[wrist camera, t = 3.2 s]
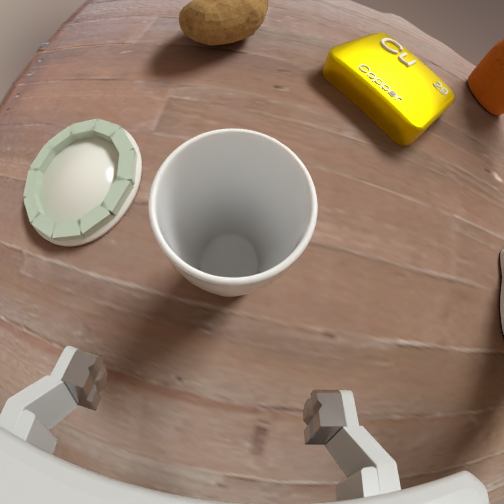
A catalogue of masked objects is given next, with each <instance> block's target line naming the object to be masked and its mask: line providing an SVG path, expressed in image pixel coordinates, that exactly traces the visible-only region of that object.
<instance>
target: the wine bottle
mask: <svg viewBox="0 0 504 504" xmlns="http://www.w3.org/2000/svg"><path fill="white" fill-rule="evenodd" d="M468 85H469V88H470V90H471V92H472V93H473V95H474V96H475V98H476V99H477V100H478V102H479V103H480V104H481V105H482V106H483V107H484V108H485V109H486V110H487V111H489V112H490V113H492V114H494V115H501V114H503V113H504V39H503V40H501V41H500V42H498V43H497V44H496V45H495V46H494V47H493V48H492V49H491V50H490V51H489V52H488V53H487V55H486V56H485V57H484V58H483V60H482V61H481V62H480V63H479V64H478V66H477V67H476V68H475V69H474V71H473V72H472V73H471V74H470V76H469V78H468Z"/></svg>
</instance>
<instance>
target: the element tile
mask: <svg viewBox="0 0 504 504" xmlns="http://www.w3.org/2000/svg"><path fill="white" fill-rule="evenodd" d="M322 74H323V76H324V78H325V79H326V80H327V81H329V82H330V83H331V84H332V85H333V86H335V87H336V88H337V89H338V90H339V91H341V92H342V93H343V94H344V95H345V96H346V97H348V98H349V99H350V100H351V101H352V102H353V103H354V104H355V105H357V106H358V107H359V108H360V109H361V110H362V111H363V112H364V113H365V114H366V115H367V116H368V117H370V118H371V119H372V120H373V121H374V122H375V123H376V124H377V125H378V126H379V127H380V128H381V129H382V130H383V131H384V132H385V133H386V134H387V135H388V136H389V137H390V138H391V139H392V140H393V141H394V142H396V143H398V144H399V145H402V146H409V145H411V144H412V143H413V142H414V141H415V140H416V139H417V138H418V137H419V136H420V135H421V134H422V133H423V132H424V131H425V130H427V129H428V128H429V127H430V126H431V125H432V124H433V123H434V122H435V121H436V120H437V119H438V118H439V117H440V116H441V115H442V114H443V113H444V112H445V111H446V110H447V109H448V108H449V107H450V105H451V104H452V103H453V102H454V100H455V97H454V93H453V92H452V91H451V89H450V88H449V87H448V86H447V85H446V84H445V83H444V82H443V81H442V80H441V79H440V78H439V77H438V76H437V75H436V74H434V73H433V72H432V71H431V70H430V69H429V68H428V67H427V66H426V65H425V64H423V63H422V62H421V61H420V60H419V59H418V58H417V57H415V56H414V55H413V54H412V53H411V52H409V51H408V50H407V49H406V48H405V47H403V46H402V45H401V44H399V43H398V42H397V41H396V40H394V39H393V38H392V37H390V36H389V35H387V34H385V33H374V34H370V35H367V36H364V37H361V38H358V39H355V40H352V41H349V42H346V43H343V44H340V45H337V46H335V47H333V48H331V49H330V51H329V53H328V55H327V58H326V61H325V63H324V66H323V69H322Z"/></svg>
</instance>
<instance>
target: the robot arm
mask: <svg viewBox="0 0 504 504" xmlns="http://www.w3.org/2000/svg"><path fill="white" fill-rule="evenodd" d="M500 262H501V270H502V285H501V296H500V312H501V323H502V329H503V333H504V249H503V250H502V251H501V253H500ZM102 363H103V359H102V356H100V355H96V354H93V353H90V352H86V351H83V350H80V349H77V348H74V347H71V346H67V347H66V348H65V349H64V351H63V352H62V354H61V356H60V358H59V360H58V362H57V363H56V365H55V367H54V369H53V371H52V373H51V375H50V376H48V375H46V376H45V377H43V378H41V379H40V380H38V381H37V382H35V383H33V384H32V385H30V386H28V387H27V388H25V389H23V390H22V391H20V392H19V393H17V394H15V395H14V396H12V397H10V398H9V399H8V400H7V402H6V404H5V406H4V408H3V410H2V413H1V415H0V504H249V503H234V502H223V501H214V500H206V499H199V498H193V497H187V496H181V495H176V494H171V493H166V492H161V491H157V490H153V489H148V488H144V487H141V486H137V485H133V484H130V483H126V482H123V481H120V480H116V479H113V478H110V477H107V476H104V475H101V474H99V473H96V472H93V471H90V470H88V469H85V468H83V467H80V466H78V465H75V464H73V463H70V462H68V461H66V460H63V459H61V458H59V457H57V456H55V455H53V453H54V450H55V447H56V444H57V439H56V437H55V436H54V435H53V434H52V433H51V432H50V431H49V430H50V429H51V428H52V427H53V426H54V425H56V424H57V423H58V422H59V421H60V420H62V419H63V418H64V417H65V416H67V415H68V414H69V413H70V412H71V411H73V410H74V409H75V408H76V407H77V406H78V405H80V406H83V407H86V408H89V409H92V410H95V411H96V409H97V406H98V404H99V401H100V398H101V397H100V394H99V392H100V391H101V390H103V389H104V388H105V385H106V382H107V370H106V367H105V366H104V365H102ZM303 421H304V422H305V423H306V424H307V425H308V426H307V427H306V428H305V430H304V436H305V444H309V445H325V447H326V448H327V449H328V451H329V452H330V454H331V455H332V457H333V458H334V460H335V461H336V462H337V464H338V465H339V467H340V468H341V469H342V471H343V472H344V474H345V475H346V476H347V479H345V480H343V481H342V482H340V483H338V484H337V485H336V496H337V501H332V502H321V503H307V504H489V498H488V493H487V490H486V487H485V486H484V485H483V484H482V483H481V482H480V481H479V480H478V479H477V478H476V477H475V476H474V475H472V474H471V473H470V472H468V471H460V472H457V473H455V474H452V475H449V476H446V477H443V478H440V479H437V480H434V481H431V482H428V483H424V484H421V485H417V486H414V487H410V488H406V489H402V490H401V487H400V481H399V476H398V470H397V465H396V462H395V461H394V460H393V458H392V457H391V456H390V455H389V454H388V453H387V452H386V451H385V450H384V449H383V448H382V447H381V446H380V444H379V443H378V442H377V441H376V440H375V439H374V438H373V437H372V436H371V435H370V434H369V433H368V431H367V430H366V429H365V428H364V427H363V426H359V422H358V417H357V412H356V407H355V402H354V397H353V393H352V391H350V390H313V391H312V393H311V398H310V399H308V400H307V401H306V403H305V405H304V409H303Z"/></svg>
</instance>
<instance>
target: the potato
mask: <svg viewBox="0 0 504 504" xmlns="http://www.w3.org/2000/svg"><path fill="white" fill-rule="evenodd" d="M267 9H268V0H193V1H192V2H190V3H188V4H187V5H186V6H185V7H183V9H182V10H181V12H180V15H179V23H180V27H181V29H182V31H183V32H184V34H185V36H187V37H189V38H190V39H192V40H194V41H196V42H199V43H202V44H206V45H222V44H228V43H234V42H237V41H239V40H242V39H245V38H247V37H249V36H251V35H253V34H254V33H255V31H256V30H257V29H258V28H259V27H260V25H261V24H262V23H263V21H264V19H265V16H266V12H267Z"/></svg>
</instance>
